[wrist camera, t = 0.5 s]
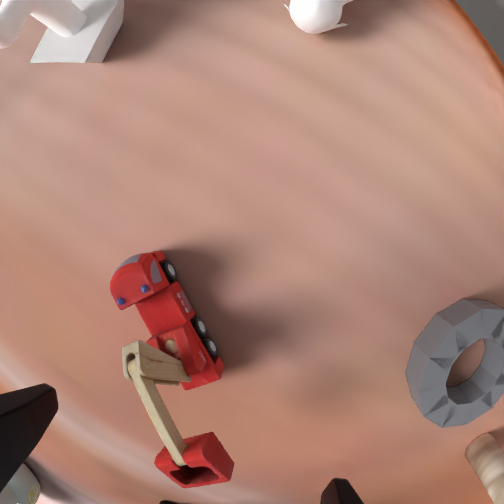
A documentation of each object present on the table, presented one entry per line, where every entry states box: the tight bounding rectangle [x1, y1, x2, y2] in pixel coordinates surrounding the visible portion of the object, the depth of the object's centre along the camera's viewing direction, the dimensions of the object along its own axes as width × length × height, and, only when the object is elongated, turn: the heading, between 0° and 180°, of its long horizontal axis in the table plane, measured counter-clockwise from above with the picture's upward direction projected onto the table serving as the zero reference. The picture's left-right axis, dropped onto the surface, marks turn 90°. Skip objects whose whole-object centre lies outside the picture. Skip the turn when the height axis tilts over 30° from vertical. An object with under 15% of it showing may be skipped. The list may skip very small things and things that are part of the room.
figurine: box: [0, 0, 125, 63], centre depth 13 cm, size 7×9×15 cm
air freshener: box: [0, 463, 40, 504], centre depth 24 cm, size 11×8×10 cm
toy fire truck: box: [110, 251, 234, 488], centre depth 18 cm, size 3×14×10 cm, turn 26°
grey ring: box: [406, 299, 504, 428], centre depth 19 cm, size 10×10×3 cm
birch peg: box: [465, 433, 504, 504], centre depth 15 cm, size 4×4×13 cm
